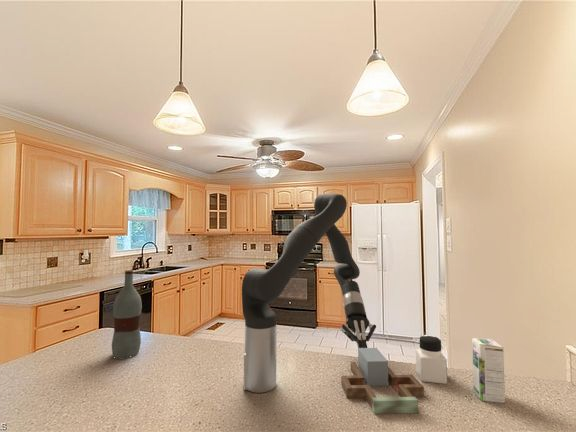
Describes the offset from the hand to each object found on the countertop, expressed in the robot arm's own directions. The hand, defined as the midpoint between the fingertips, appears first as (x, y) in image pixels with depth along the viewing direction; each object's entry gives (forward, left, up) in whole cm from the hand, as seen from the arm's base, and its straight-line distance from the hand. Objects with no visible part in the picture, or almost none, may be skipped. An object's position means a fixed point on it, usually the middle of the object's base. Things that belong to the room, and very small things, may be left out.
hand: (363, 352), depth 98 cm
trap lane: (0, -15, -4) cm, 16 cm away
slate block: (0, -9, -4) cm, 10 cm away
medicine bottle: (+18, -9, -4) cm, 21 cm away
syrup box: (+28, -20, -4) cm, 35 cm away
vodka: (-84, +11, -4) cm, 85 cm away
